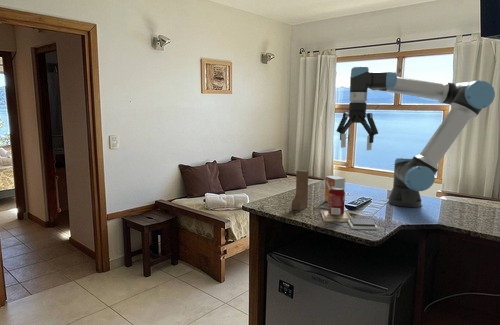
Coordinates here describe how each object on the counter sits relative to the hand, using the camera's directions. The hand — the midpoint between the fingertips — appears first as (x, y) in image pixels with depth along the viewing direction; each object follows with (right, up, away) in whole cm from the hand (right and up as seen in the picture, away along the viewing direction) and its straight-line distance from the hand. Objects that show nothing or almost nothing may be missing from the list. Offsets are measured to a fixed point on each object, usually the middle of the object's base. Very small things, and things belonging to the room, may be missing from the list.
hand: (355, 148), depth 164 cm
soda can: (-11, -29, -8) cm, 32 cm away
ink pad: (-3, -32, -19) cm, 37 cm away
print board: (-11, -30, -8) cm, 33 cm away
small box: (-6, -27, +16) cm, 32 cm away
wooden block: (-25, -28, +6) cm, 38 cm away
